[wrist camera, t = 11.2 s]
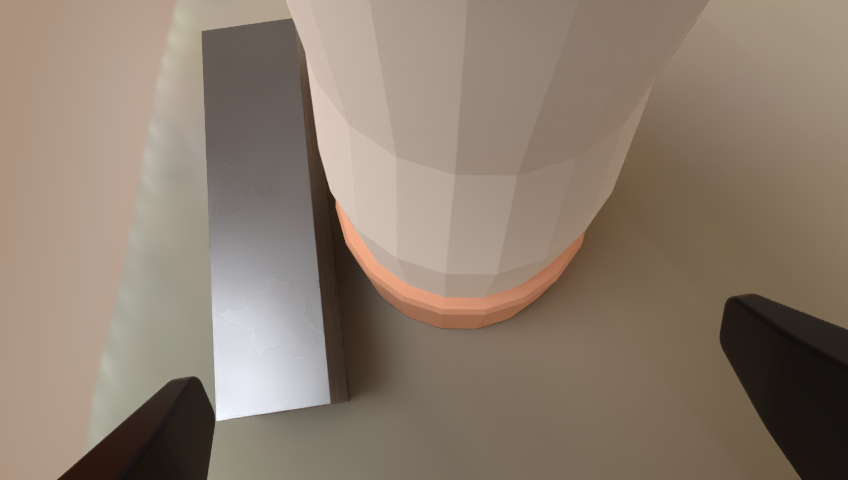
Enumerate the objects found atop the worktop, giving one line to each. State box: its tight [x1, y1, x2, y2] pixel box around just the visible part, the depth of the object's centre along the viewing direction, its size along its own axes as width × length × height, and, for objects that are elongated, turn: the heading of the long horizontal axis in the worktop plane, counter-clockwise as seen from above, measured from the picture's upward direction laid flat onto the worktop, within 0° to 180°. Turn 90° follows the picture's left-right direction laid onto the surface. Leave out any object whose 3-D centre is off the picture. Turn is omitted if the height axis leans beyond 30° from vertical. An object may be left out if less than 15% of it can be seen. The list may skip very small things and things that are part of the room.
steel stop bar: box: [202, 18, 349, 421], centre depth 17 cm, size 12×3×3 cm, turn 8°
